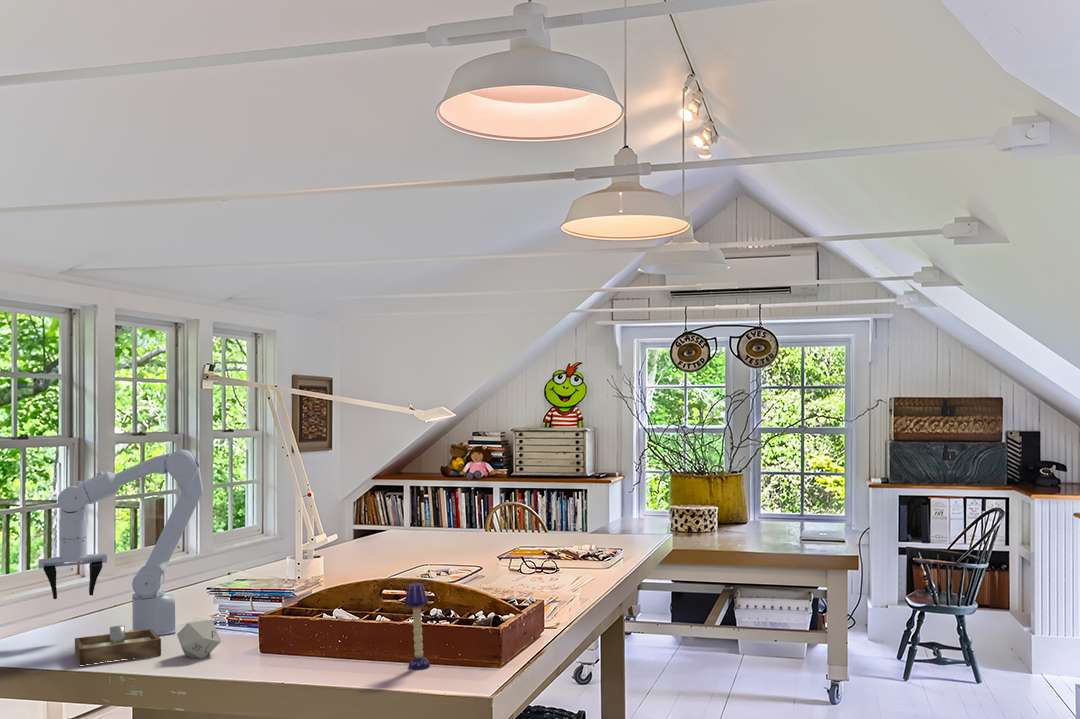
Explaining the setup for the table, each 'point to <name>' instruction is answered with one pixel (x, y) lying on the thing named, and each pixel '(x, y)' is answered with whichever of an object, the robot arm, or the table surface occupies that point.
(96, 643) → the peg box
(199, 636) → the die
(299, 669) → the table surface
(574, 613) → the table surface
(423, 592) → the toy lamp
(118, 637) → the peg
